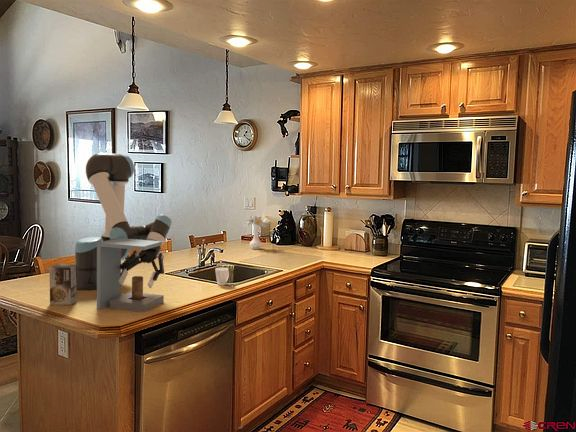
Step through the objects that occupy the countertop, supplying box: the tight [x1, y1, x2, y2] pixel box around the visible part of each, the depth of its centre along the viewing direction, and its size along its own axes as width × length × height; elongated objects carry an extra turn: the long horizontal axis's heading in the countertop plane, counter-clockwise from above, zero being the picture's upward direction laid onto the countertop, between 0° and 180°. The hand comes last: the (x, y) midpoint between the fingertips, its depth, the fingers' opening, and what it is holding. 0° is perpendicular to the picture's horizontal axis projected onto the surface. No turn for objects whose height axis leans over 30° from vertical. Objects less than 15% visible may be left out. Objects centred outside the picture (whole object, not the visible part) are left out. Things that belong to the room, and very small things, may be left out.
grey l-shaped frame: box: [96, 238, 163, 310], centre depth 198 cm, size 21×15×28 cm
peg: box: [131, 275, 144, 300], centre depth 202 cm, size 4×4×12 cm
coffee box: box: [48, 263, 78, 306], centre depth 200 cm, size 9×6×16 cm
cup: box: [214, 267, 230, 286], centre depth 246 cm, size 7×10×8 cm
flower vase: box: [246, 215, 269, 250], centre depth 362 cm, size 13×18×25 cm
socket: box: [109, 291, 165, 313], centre depth 202 cm, size 16×16×3 cm
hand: (134, 285), depth 199 cm, fingers open, 13 cm apart
